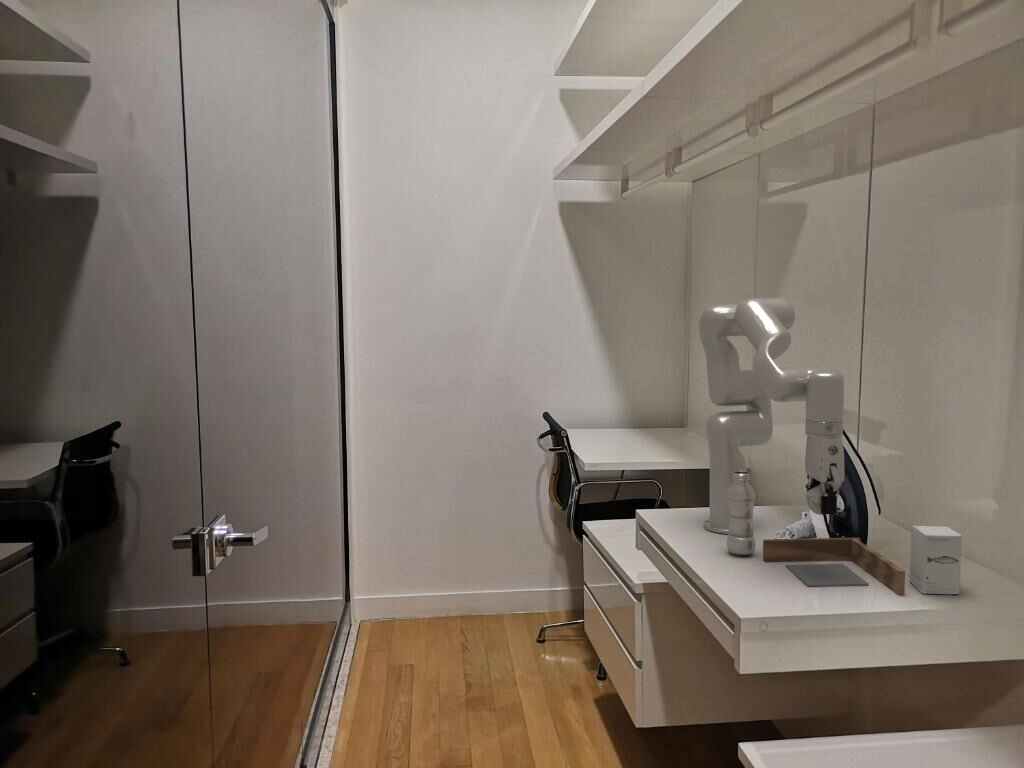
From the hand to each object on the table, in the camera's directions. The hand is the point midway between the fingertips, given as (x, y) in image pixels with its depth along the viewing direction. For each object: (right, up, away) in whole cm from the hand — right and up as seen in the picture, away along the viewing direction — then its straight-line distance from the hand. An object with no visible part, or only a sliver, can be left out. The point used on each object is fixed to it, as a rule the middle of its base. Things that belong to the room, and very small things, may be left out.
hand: (821, 508), depth 169 cm
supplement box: (+21, -16, -7) cm, 27 cm away
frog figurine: (0, -1, 0) cm, 1 cm away
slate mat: (+2, -15, +2) cm, 15 cm away
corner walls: (+3, -15, +1) cm, 15 cm away
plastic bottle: (-12, -14, +18) cm, 26 cm away
